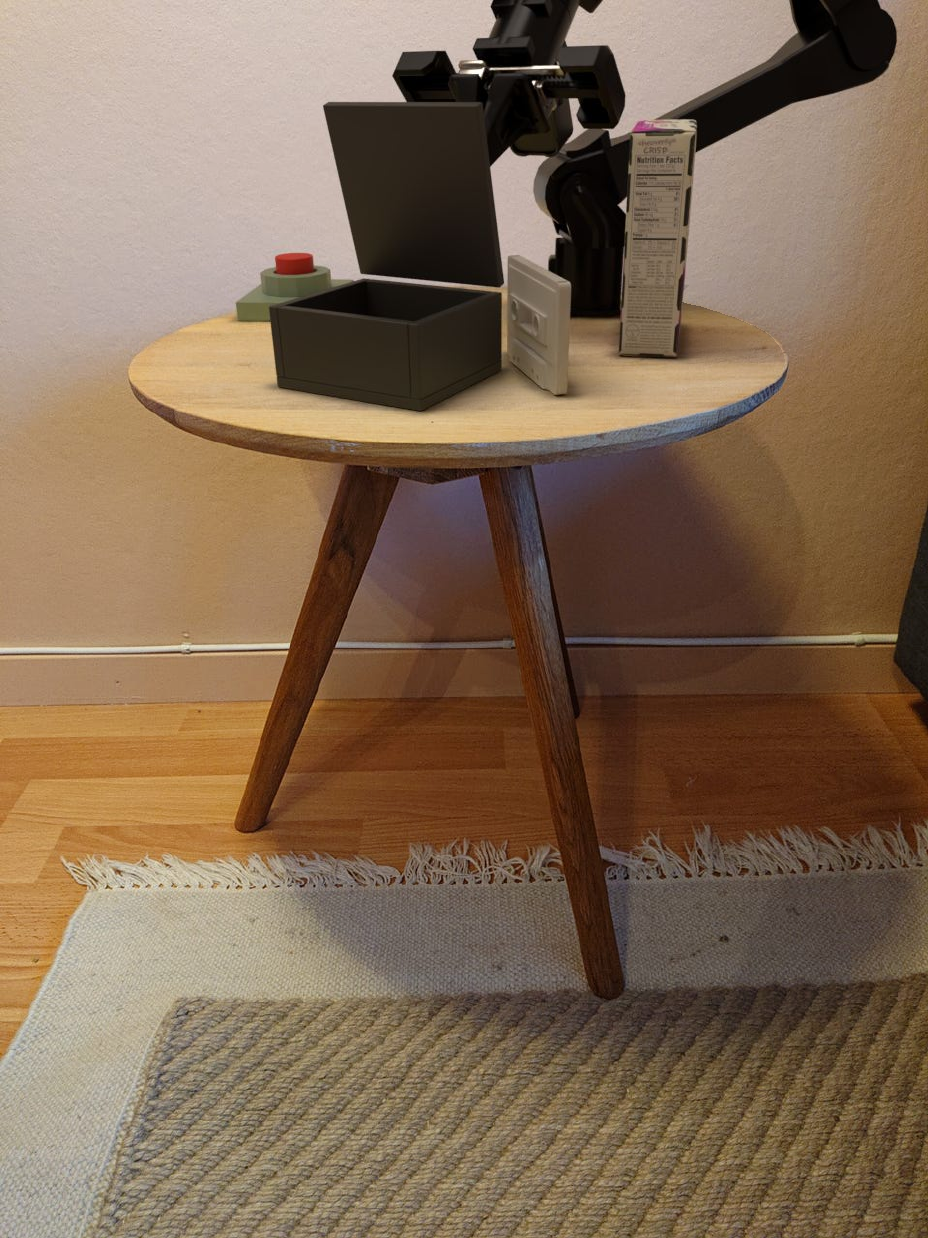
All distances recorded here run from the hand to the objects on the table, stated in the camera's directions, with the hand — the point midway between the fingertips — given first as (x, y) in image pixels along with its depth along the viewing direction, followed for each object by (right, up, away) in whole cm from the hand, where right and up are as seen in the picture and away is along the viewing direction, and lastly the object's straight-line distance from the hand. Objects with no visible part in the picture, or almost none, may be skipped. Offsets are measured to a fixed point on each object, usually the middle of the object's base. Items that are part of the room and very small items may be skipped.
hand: (470, 176), depth 76 cm
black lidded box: (-6, -17, -3) cm, 18 cm away
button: (-17, -2, +17) cm, 24 cm away
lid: (-4, -4, -6) cm, 9 cm away
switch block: (-17, -4, +19) cm, 26 cm away
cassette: (+5, -16, -2) cm, 17 cm away
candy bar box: (+15, -11, +6) cm, 20 cm away
